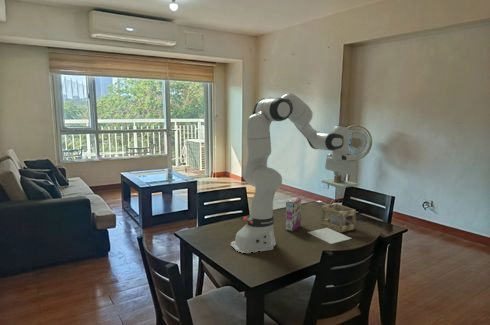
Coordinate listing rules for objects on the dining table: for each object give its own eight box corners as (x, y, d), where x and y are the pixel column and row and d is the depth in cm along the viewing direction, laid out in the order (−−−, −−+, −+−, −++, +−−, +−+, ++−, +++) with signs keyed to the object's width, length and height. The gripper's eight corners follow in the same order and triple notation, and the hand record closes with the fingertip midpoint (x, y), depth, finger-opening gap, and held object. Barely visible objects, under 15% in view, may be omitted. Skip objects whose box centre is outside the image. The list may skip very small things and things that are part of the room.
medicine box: (344, 225, 190) (344, 211, 189) (345, 228, 186) (346, 213, 184) (330, 225, 191) (330, 210, 190) (331, 228, 187) (331, 213, 185)
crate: (340, 232, 179) (341, 212, 178) (321, 224, 192) (321, 206, 191) (355, 229, 184) (355, 209, 183) (335, 221, 198) (336, 203, 196)
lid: (341, 189, 175) (342, 179, 174) (321, 184, 189) (322, 174, 188) (357, 187, 181) (358, 177, 180) (337, 181, 194) (337, 172, 193)
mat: (330, 244, 164) (330, 243, 164) (307, 232, 179) (307, 232, 179) (351, 239, 170) (351, 238, 170) (327, 228, 186) (327, 227, 186)
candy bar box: (293, 231, 181) (293, 202, 179) (285, 230, 184) (285, 201, 181) (301, 225, 191) (301, 197, 188) (292, 224, 193) (293, 196, 191)
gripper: (323, 153, 190) (322, 177, 192) (350, 158, 172) (348, 184, 174) (331, 152, 192) (330, 176, 195) (358, 157, 175) (357, 182, 177)
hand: (339, 180), depth 184 cm, fingers closed on lid
